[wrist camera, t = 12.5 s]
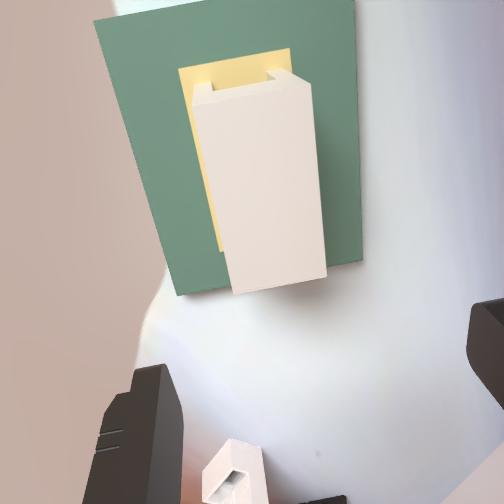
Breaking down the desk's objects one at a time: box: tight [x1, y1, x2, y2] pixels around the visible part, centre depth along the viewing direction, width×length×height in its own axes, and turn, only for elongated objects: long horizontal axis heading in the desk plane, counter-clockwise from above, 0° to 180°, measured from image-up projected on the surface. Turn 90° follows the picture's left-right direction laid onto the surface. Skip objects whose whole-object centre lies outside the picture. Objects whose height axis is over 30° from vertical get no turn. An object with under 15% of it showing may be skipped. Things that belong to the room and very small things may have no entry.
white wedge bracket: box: [202, 438, 269, 504], centre depth 39 cm, size 4×10×9 cm, turn 149°
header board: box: [93, 0, 363, 296], centre depth 26 cm, size 18×14×4 cm
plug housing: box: [192, 68, 327, 295], centre depth 23 cm, size 10×5×7 cm, turn 9°
